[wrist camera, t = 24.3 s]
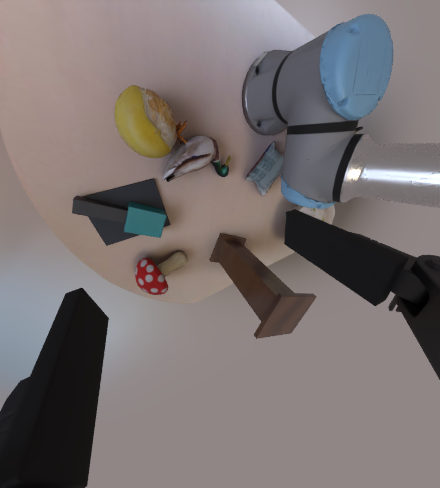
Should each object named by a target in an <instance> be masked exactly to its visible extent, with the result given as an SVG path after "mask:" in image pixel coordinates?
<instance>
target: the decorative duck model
mask: <svg viewBox="0 0 440 488" xmlns="http://www.w3.org/2000/svg"><path fill="white" fill-rule="evenodd" d="M186 121H187V120H186ZM186 121H185V122H184V123H183V124H182V125H180V123H181V121H180V122H179V123H178V124H177V125H176V131H177V130H178V131H177V136H178V137H179V138H180V139H181V140H182V141H181V140H180V139H179V138H178V137H177V140H178V141H179V142H180V145H179V146H178V147H177V149H176V150H175V152H174V153H173V155H172V157H171V158H170V160H169V162H168V163H167V165H166V167H165V169H164V172H163V178H162V181H163V180H165V179H166V180H167V182H169V181H171V180H172V179H174V178H177V177H179V176H181V175H183V174H185V173H187V172H191V171H195V170H198V169H201V168H203V167H205V166H206V165H208V164H209V163H210V162H211V163H212V164H213V165H214V167H215V170H216V172H217V174H218V175H219V176H221V177H226V176H227V175H228V172H229V162H230V159H231V156H229V157H228V158H227V161H226V163H225V164H224V165H222V166H221V165H220V160H219V151H218V145H217V142H216V141H215V140H214V139H213V138H211V137H207V136H196V137H193V138H191V139H188V140H185V139H184V138H183V137H182V136H181V135H180V133H181V132H182V131H183V130H184V129H185V127H186Z"/></svg>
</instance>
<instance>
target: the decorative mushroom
mask: <svg viewBox="0 0 440 488" xmlns="http://www.w3.org/2000/svg"><path fill="white" fill-rule="evenodd" d="M187 261H188V260H187V255H186V254H185V253H183V252H176V253H175V254H173V255H172V256H171V257H170V258H169V259H167V260H166V261H164V262H162V263H161V264H159V265H158V266H156V264H155V263H154V262H153V261H152V260H151V259H149V258H142V259H141V260H140V261H139V262H138V264H137V266H136V271H135V277H136V282H137V284H138V286H139V287H140V288H141V289H142V290H143V291H145V292H147V293H149V294H153V295H161V294H164V293H166V291H167V290H168V284H167V282H166V280H165V276H167V275H168V274H170V273H171V272H172V271H174V270H176V269H178V268H180V267H182V266H184V265H185V264H186V263H187Z"/></svg>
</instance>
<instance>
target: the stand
mask: <svg viewBox="0 0 440 488" xmlns="http://www.w3.org/2000/svg"><path fill="white" fill-rule="evenodd" d="M245 242H246V239H245V238H240V237H236V236H231V235H227V234H222V233H220V236H219V238H218V240H217V243H216V245H215V248H214V250H213V253H212V255H211V258H210V261H211V262H219V263H220V264H221V266H222V267H223V268H224V270H225V271H226V273H227V274H228V275H229V277H230V278H231V280H232V281H233V282H234V284H235V285H236V287H237V288H238V289H239V291H240V292H241V293H242V295H243V297H244V298H245V299H246V301H247V302H248V304H249V305H250V306H251V307H252V309H253V311H254V312H255V313H256V315H257V316H258V318H259V319H260V320H261V324H260V325H259V327H258V329H257V330H256V332H255V333H254V336H255V337H256V339H257V338H263V337H270V336H276V335H283V334H289V333H292V331H293V330H294V328H295V327H296V326H297V324H298V323H299V321H300V320H301V318H302V317H303V316H304V314H305V313H306V311H307V310H308V309H309V307H310V306H311V304H312V303H313V301H314V300H315V298H316V296H315V295H314V294H301V293H300V294H299V293H294V292H293V291H292V290H291V289H290V288H288V287H287V286H286V285H285V284H284V283H283V282H282V281H281V280H280V279H279V278H278V277H277V276H276V275H275V274H274V273H272V272H271V271H270V270H269V269H268V268H267V267H266V266H265V265H264V264H263V263H262V262H261V261H260V260H259V259H258V258H257V257H256V256H255V255H253V254H252V253H251V252H250V251H249V250H248V249H247V248H246V247H245V246H244V244H245Z"/></svg>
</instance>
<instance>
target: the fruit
mask: <svg viewBox="0 0 440 488" xmlns="http://www.w3.org/2000/svg"><path fill="white" fill-rule="evenodd" d="M115 122H116V126H117V129H118V131H119V133H120V135H121V137H122V139H123V140H124V141H125V143H126V144H127V145H128V146H129V147H130V148H132V149H133V150H134V151H135V152H137V153H138V154H140V155H143V156H146V157H150V158H161V157H164V156H166V155H167V154H169V153H170V152H171V150H172V148H173V145H174V144H175V142H176V139H177V133H176V122H175V119H174V117H173V113H172V110H171V108H170V107H169V105H168V104H167V103H166V102H165V100H164V99H161V98H159V97H158V95H157V94H156V93H155V92H153V91H151V90H148V89H143V88H141V87H139V86H136V85H133V86H130V87H128V88H127V89H125V90H124V91H123V92H122V93H121V94H120V96H119V97H118V99H117V101H116V104H115Z"/></svg>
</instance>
